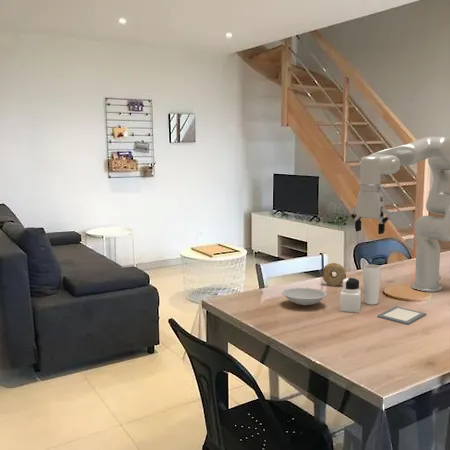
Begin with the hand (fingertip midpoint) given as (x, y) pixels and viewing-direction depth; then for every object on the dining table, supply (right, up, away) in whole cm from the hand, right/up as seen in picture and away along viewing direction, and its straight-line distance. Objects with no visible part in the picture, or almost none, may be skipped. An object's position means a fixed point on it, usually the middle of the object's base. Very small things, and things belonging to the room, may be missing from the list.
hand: (369, 232), depth 201 cm
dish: (-25, -29, +3) cm, 39 cm away
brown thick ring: (-8, -24, +30) cm, 39 cm away
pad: (+9, -31, -11) cm, 34 cm away
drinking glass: (+2, -29, +4) cm, 29 cm away
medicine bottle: (-8, -30, -2) cm, 31 cm away
